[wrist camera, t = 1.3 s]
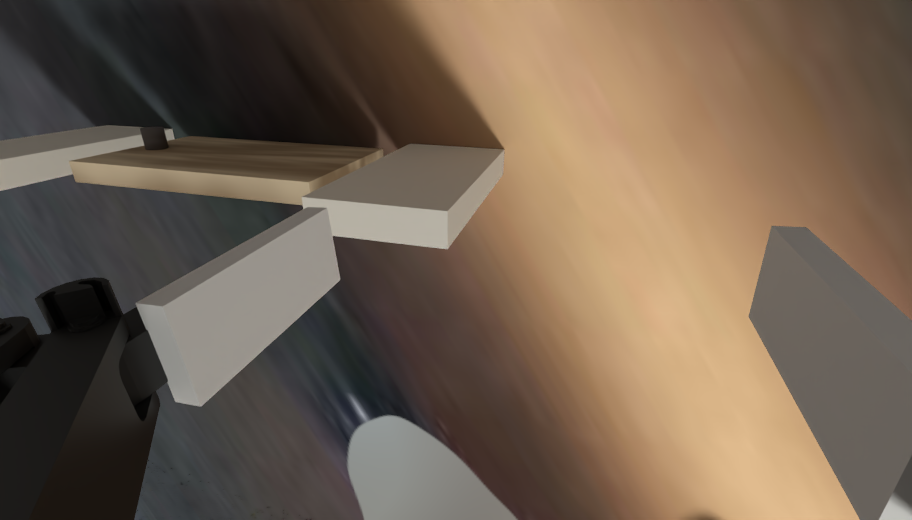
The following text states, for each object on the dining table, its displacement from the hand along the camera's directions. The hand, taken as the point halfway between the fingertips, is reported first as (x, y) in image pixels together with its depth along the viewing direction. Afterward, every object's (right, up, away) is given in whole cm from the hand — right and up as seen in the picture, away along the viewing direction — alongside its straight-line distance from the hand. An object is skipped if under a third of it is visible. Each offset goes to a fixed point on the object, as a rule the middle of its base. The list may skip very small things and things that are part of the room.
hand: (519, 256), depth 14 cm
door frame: (-18, +8, +28) cm, 34 cm away
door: (-17, +10, +25) cm, 32 cm away
